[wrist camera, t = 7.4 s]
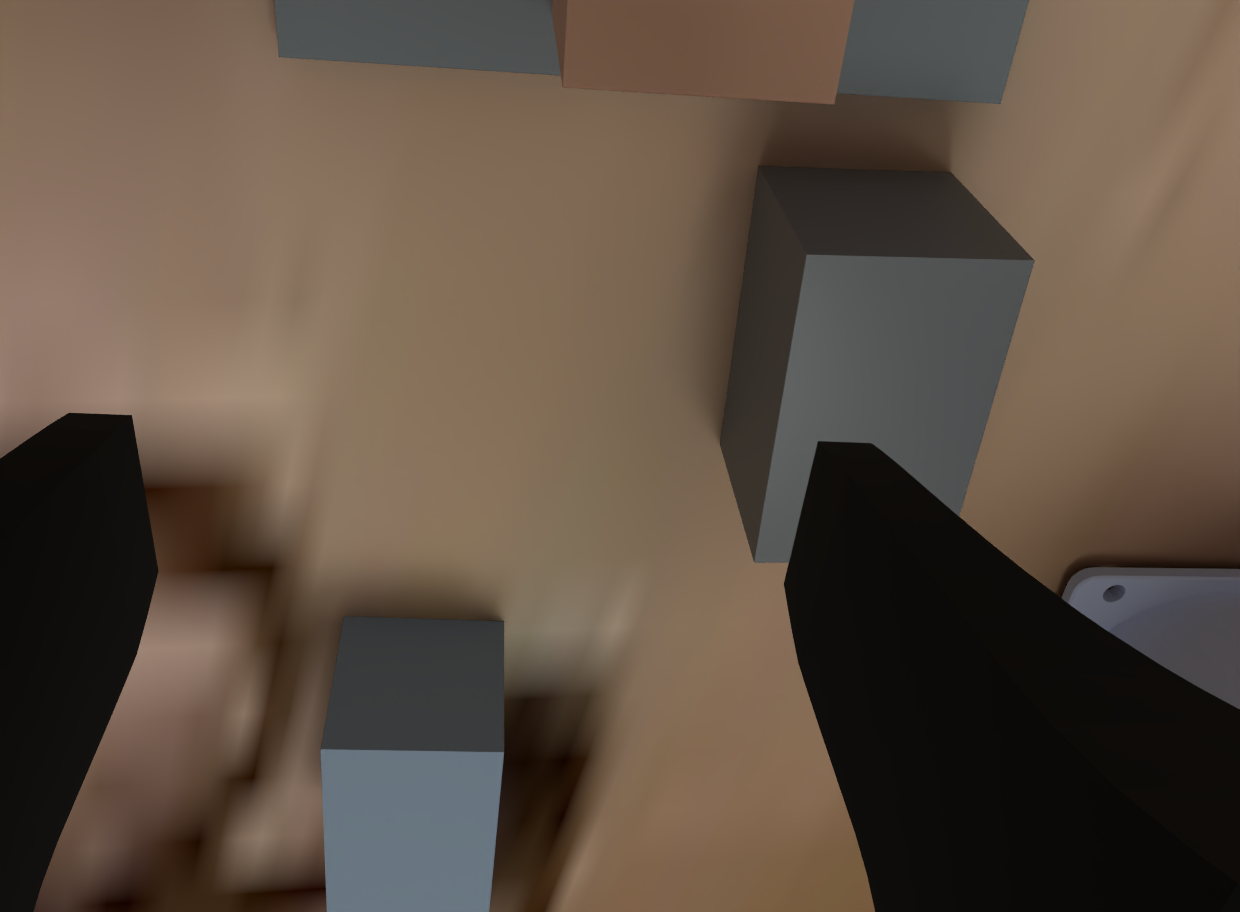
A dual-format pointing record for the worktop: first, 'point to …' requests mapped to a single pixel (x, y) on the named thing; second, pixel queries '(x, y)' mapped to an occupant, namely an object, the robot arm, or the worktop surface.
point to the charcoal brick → (864, 334)
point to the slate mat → (525, 43)
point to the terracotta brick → (704, 47)
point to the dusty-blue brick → (413, 765)
